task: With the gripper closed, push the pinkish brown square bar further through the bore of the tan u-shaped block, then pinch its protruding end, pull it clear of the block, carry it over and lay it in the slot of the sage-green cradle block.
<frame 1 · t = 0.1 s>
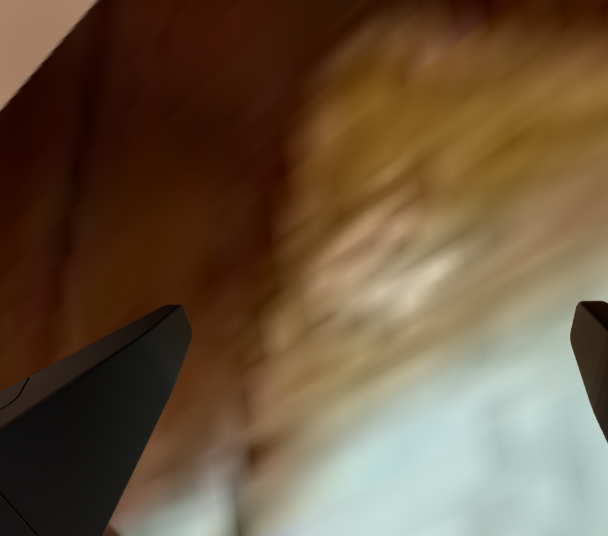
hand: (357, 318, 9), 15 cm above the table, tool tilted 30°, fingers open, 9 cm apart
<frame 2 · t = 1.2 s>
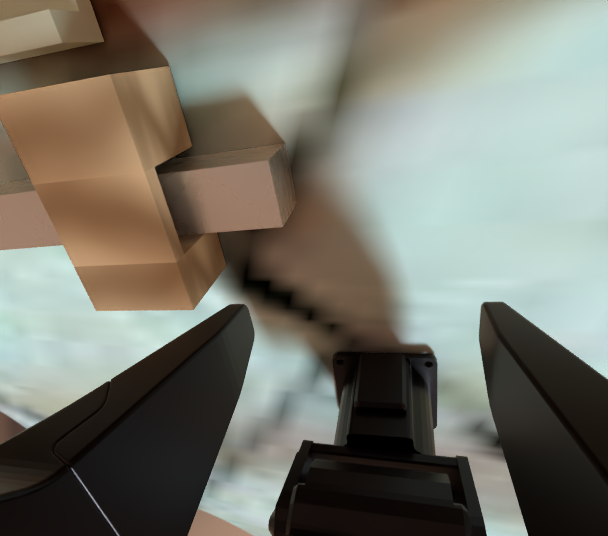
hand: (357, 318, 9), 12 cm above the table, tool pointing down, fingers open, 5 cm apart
pinkish brown square bar: (145, 190, 23), on the table
tan u-shaped block: (153, 182, 22), on the table
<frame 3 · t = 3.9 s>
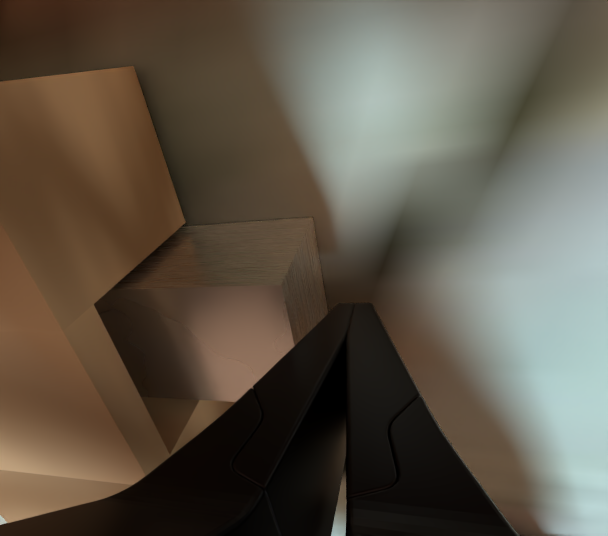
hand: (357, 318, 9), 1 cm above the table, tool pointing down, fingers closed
pinkish brown square bar: (55, 281, 13), on the table
tan u-shaped block: (116, 280, 12), on the table
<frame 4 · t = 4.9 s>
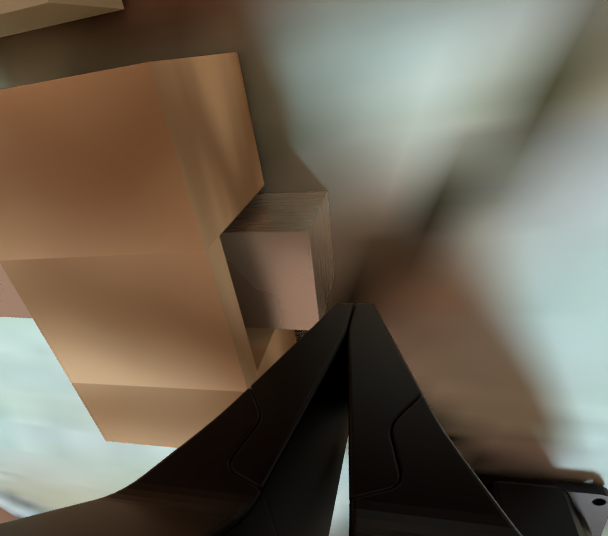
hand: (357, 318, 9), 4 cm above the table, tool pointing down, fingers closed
pinkish brown square bar: (106, 237, 16), on the table
tan u-shaped block: (195, 237, 14), on the table
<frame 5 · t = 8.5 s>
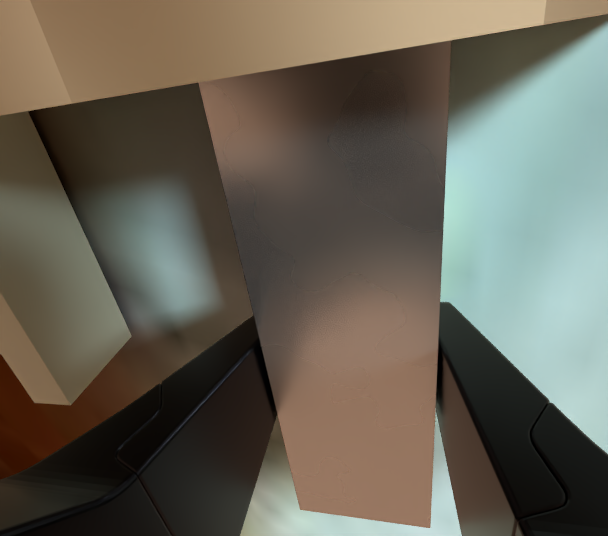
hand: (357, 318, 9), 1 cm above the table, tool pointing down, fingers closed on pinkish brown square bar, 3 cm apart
pinkish brown square bar: (349, 113, 8), on the table, touching gripper
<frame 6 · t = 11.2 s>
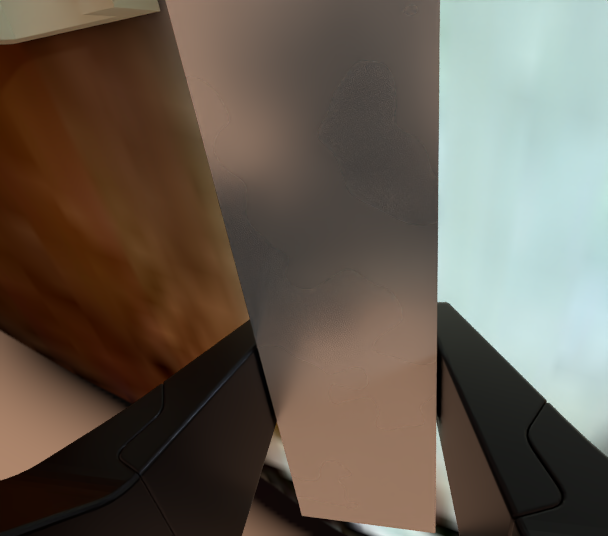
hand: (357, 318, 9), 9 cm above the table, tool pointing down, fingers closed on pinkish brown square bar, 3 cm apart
pinkish brown square bar: (343, 111, 8), point 7 cm above the table, touching gripper
when the fingers open (4 cm above the table, at t = 13.7 s): pinkish brown square bar drops 1 cm, resting on cradle.
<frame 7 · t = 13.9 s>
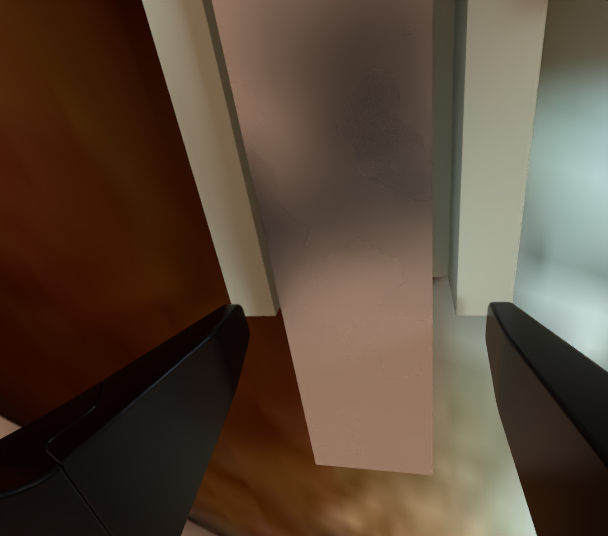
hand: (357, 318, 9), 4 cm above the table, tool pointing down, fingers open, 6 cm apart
pinkish brown square bar: (351, 108, 9), point 1 cm above the table, touching cradle
cradle: (353, 92, 10), on the table
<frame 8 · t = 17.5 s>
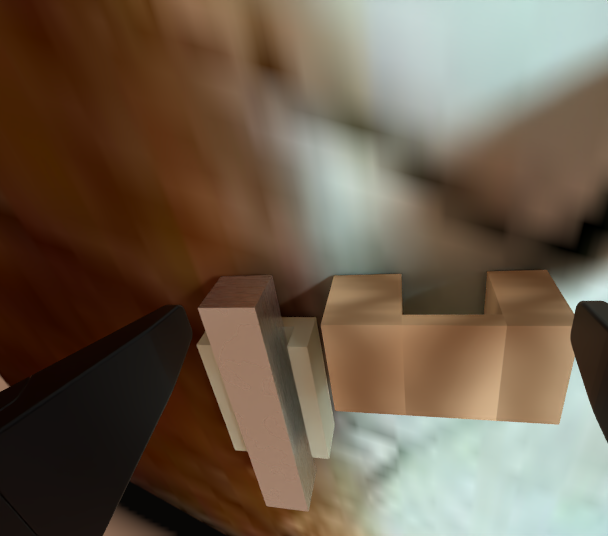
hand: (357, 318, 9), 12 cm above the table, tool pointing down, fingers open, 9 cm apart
pinkish brown square bar: (275, 387, 27), point 1 cm above the table, touching cradle
cradle: (277, 373, 28), on the table
tan u-shaped block: (433, 317, 23), on the table
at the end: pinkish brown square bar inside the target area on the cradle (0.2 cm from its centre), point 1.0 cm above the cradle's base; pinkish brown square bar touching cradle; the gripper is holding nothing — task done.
